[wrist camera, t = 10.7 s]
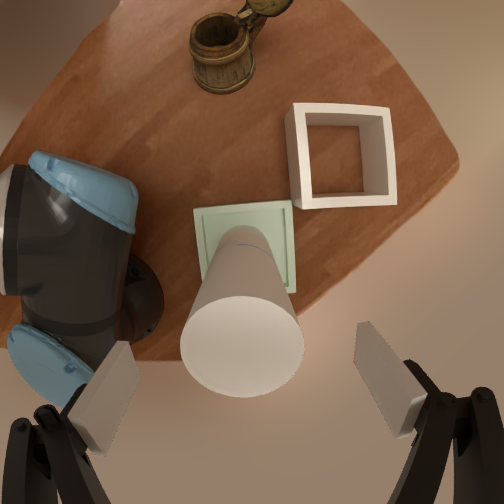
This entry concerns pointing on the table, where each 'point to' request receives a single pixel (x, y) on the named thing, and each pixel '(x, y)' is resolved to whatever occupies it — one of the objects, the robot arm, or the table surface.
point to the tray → (256, 215)
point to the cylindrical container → (242, 321)
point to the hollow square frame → (372, 152)
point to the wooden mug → (229, 45)
